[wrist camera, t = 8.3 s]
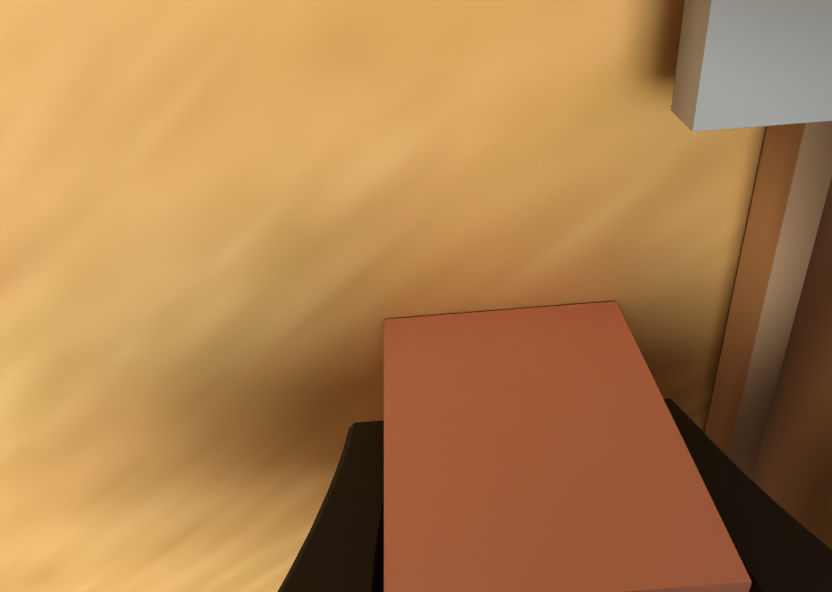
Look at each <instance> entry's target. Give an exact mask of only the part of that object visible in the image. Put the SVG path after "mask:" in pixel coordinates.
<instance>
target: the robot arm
mask: <svg viewBox="0 0 832 592" xmlns="http://www.w3.org/2000/svg"><path fill="white" fill-rule="evenodd" d="M664 401H665V403H666V405H667V407H668V409H669V411H670V413H671V416H672V418H673V420H674V422H675V424H676V426H677V428H678V430H679V432H680V434H681V436H682V438H683V440H684V442H685V445H686V447H687V449H688V451H689V453H690V455H691V457H692V459H693V461H694V463H695V465H696V467H697V469H698V471H699V473H700V476H701V478H702V480H703V482H704V484H705V486H706V488H707V490H708V492H709V494H710V496H711V498H712V500H713V502H714V505H715V507H716V509H717V511H718V513H719V515H720V517H721V519H722V521H723V523H724V525H725V527H726V529H727V531H728V534H729V536H730V538H731V540H732V542H733V544H734V546H735V548H736V550H737V552H738V554H739V556H740V558H741V560H742V563H743V565H744V567H745V569H746V571H747V573H748V575H749V577H750V579H751V581H752V583H751V587H750V590H749V592H832V550H831V549H830V548H829V547H828V546H827V545H825V544H824V543H823V542H822V541H820V540H819V539H818V538H817V537H816V536H814V535H813V534H812V533H811V532H810V531H808V530H807V529H806V528H805V527H804V526H803V525H801V524H800V523H799V522H798V521H797V520H796V519H794V518H793V517H792V516H791V515H790V514H789V513H787V512H786V511H785V510H784V509H783V508H782V507H781V506H780V505H779V504H777V503H776V502H775V501H774V500H773V499H772V498H771V497H770V496H769V495H768V494H766V493H765V492H764V491H763V490H762V489H761V488H760V487H759V486H758V485H757V484H756V483H755V482H754V481H753V480H751V479H750V478H749V477H748V476H747V475H746V474H745V473H744V472H743V471H742V470H741V469H740V468H739V467H738V466H737V465H736V464H735V463H734V462H733V461H732V460H731V459H730V458H729V457H727V456H726V455H725V454H724V453H723V452H722V451H721V450H720V449H719V448H718V447H717V446H716V445H715V444H714V443H713V442H712V441H711V439H710V438H709V437H708V436H707V435H706V434H705V433H704V432H703V431H702V430H701V429H700V428H699V427H698V426H697V425H696V424H695V423H694V422H693V421H692V420H691V419H690V418H689V417H688V416H687V415H686V414H685V413H684V412H683V411H682V410H681V409H680V408H679V407H678V406H677V405H676V404H675V403H674V402H673V401H672V400H671V399H670V398H669V399H664ZM278 592H384V421H372V422H359V423H354V424H353V425H352V426H351V427H350V428H349V430H348V434H347V439H346V442H345V445H344V449H343V452H342V455H341V458H340V461H339V464H338V466H337V469H336V472H335V474H334V477H333V479H332V482H331V485H330V487H329V490H328V492H327V494H326V496H325V499H324V501H323V503H322V505H321V508H320V510H319V512H318V514H317V517H316V519H315V521H314V523H313V526H312V528H311V530H310V532H309V534H308V536H307V538H306V540H305V542H304V544H303V545H302V547H301V549H300V551H299V553H298V555H297V557H296V559H295V561H294V563H293V565H292V567H291V569H290V571H289V572H288V574H287V576H286V578H285V580H284V581H283V583H282V585H281V587H280V588H279V590H278Z"/></svg>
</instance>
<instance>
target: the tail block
mask: <svg viewBox="0 0 832 592" xmlns="http://www.w3.org/2000/svg"><path fill="white" fill-rule="evenodd" d="M751 583H752V581H751V579H750V577H749V575H748V573H747V571H746V569H745V567H744V565H743V563H742V560H741V558H740V556H739V554H738V552H737V550H736V548H735V546H734V544H733V542H732V540H731V538H730V536H729V534H728V531H727V529H726V527H725V525H724V523H723V521H722V519H721V517H720V515H719V513H718V511H717V509H716V507H715V505H714V502H713V500H712V498H711V496H710V494H709V492H708V490H707V488H706V486H705V484H704V482H703V480H702V478H701V476H700V473H699V471H698V469H697V467H696V465H695V463H694V461H693V459H692V457H691V455H690V453H689V451H688V449H687V447H686V445H685V442H684V440H683V438H682V436H681V434H680V432H679V430H678V428H677V426H676V424H675V422H674V420H673V418H672V416H671V413H670V411H669V409H668V407H667V405H666V403H665V401H664V399H663V397H662V395H661V393H660V391H659V389H658V387H657V384H656V382H655V380H654V378H653V376H652V374H651V372H650V370H649V368H648V366H647V364H646V362H645V360H644V358H643V355H642V353H641V351H640V349H639V347H638V345H637V343H636V341H635V339H634V337H633V335H632V333H631V331H630V329H629V326H628V324H627V322H626V320H625V318H624V316H623V314H622V312H621V310H620V308H619V306H618V304H617V302H616V301H612V302H599V303H586V304H574V305H561V306H548V307H535V308H523V309H510V310H497V311H485V312H472V313H459V314H446V315H434V316H421V317H408V318H395V319H384V592H749V590H750V587H751Z"/></svg>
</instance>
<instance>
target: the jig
mask: <svg viewBox="0 0 832 592" xmlns="http://www.w3.org/2000/svg"><path fill="white" fill-rule="evenodd" d="M671 111H672V112H673V113H674V114H675V115H676V116H677V117H678V118H679V119H680V120H681V121H682V122H683V123H684V124H685V125H686V126H687V127H688V128H689V129H690V130H691V131H692V132H696V131H709V130H721V129H734V128H746V127H759V126H767V129H766V134H765V138H764V143H763V148H762V153H761V158H760V163H759V168H758V173H757V178H756V183H755V188H754V193H753V198H752V203H751V208H750V212H749V217H748V222H747V227H746V232H745V237H744V242H743V247H742V252H741V257H740V262H739V267H738V272H737V277H736V282H735V286H734V291H733V296H732V301H731V306H730V311H729V316H728V321H727V326H726V331H725V336H724V341H723V346H722V351H721V356H720V360H719V365H718V370H717V375H716V380H715V385H714V390H713V395H712V400H711V405H710V410H709V415H708V420H707V425H706V430H705V434H706V435H707V436H708V437H709V438H710V439H711V441H712V442H713V443H714V444H715V445H716V446H717V447H718V448H719V449H720V450H721V451H722V452H723V453H724V454H725V455H726V456H727V457H729V458H730V459H731V460H732V461H733V462H734V463H735V464H736V465H737V466H738V467H739V468H740V469H741V470H742V471H743V472H744V473H745V474H746V475H747V476H748V477H749V478H750V479H751V480H753V481H754V482H755V483H756V484H757V485H758V486H759V487H760V488H761V489H762V490H763V491H764V492H765V493H766V494H768V495H769V496H770V497H771V498H772V499H773V500H774V501H775V502H776V503H777V504H779V505H780V506H781V507H782V508H783V509H784V510H785V511H786V512H787V513H789V514H790V515H791V516H792V517H793V518H794V519H796V520H797V521H798V522H799V523H800V524H801V525H803V526H804V527H805V528H806V529H807V530H808V531H810V532H811V533H812V534H813V535H814V536H816V537H817V538H818V539H819V540H820V541H822V542H823V543H824V544H825V545H827V546H828V547H829V548H830V549H831V550H832V0H685V3H684V11H683V19H682V27H681V35H680V43H679V51H678V59H677V67H676V75H675V83H674V91H673V99H672V106H671Z"/></svg>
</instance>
